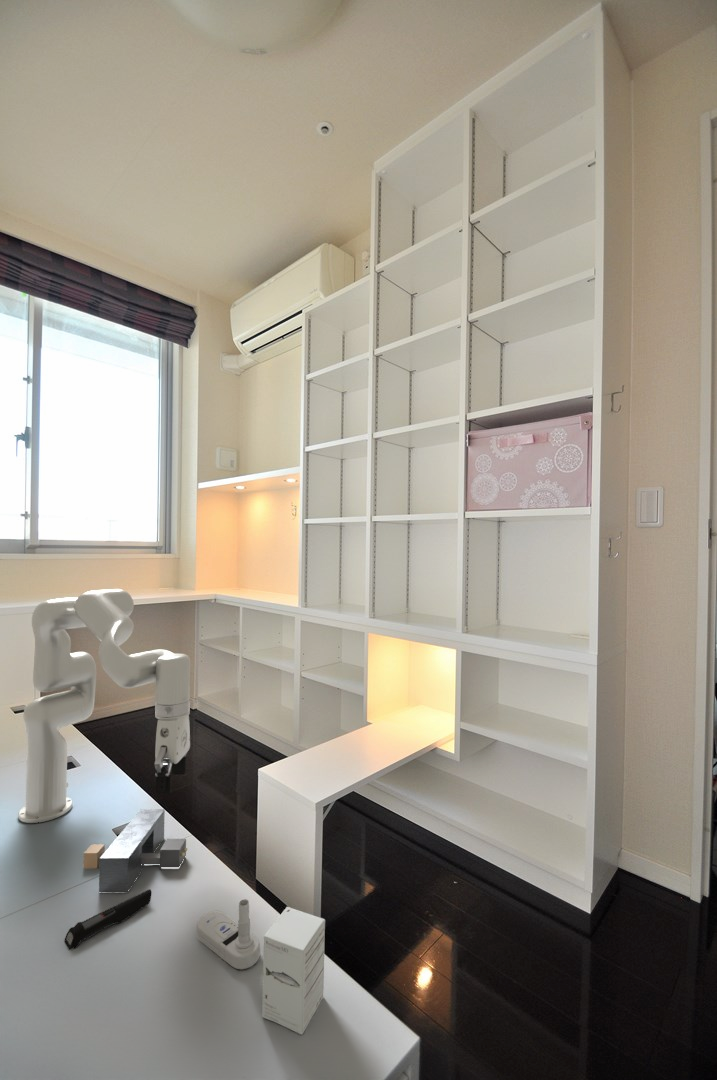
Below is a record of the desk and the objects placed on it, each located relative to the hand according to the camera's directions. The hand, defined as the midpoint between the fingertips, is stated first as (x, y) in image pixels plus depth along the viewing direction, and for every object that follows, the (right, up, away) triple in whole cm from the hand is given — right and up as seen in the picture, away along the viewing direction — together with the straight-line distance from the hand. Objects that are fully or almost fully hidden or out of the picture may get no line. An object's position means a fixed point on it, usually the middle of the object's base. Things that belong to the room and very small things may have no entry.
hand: (171, 783), depth 114 cm
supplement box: (+33, -18, -37) cm, 52 cm away
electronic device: (+19, -18, -24) cm, 36 cm away
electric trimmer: (-5, -18, -19) cm, 27 cm away
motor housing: (-8, -18, -1) cm, 20 cm away
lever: (-8, -18, -1) cm, 20 cm away
